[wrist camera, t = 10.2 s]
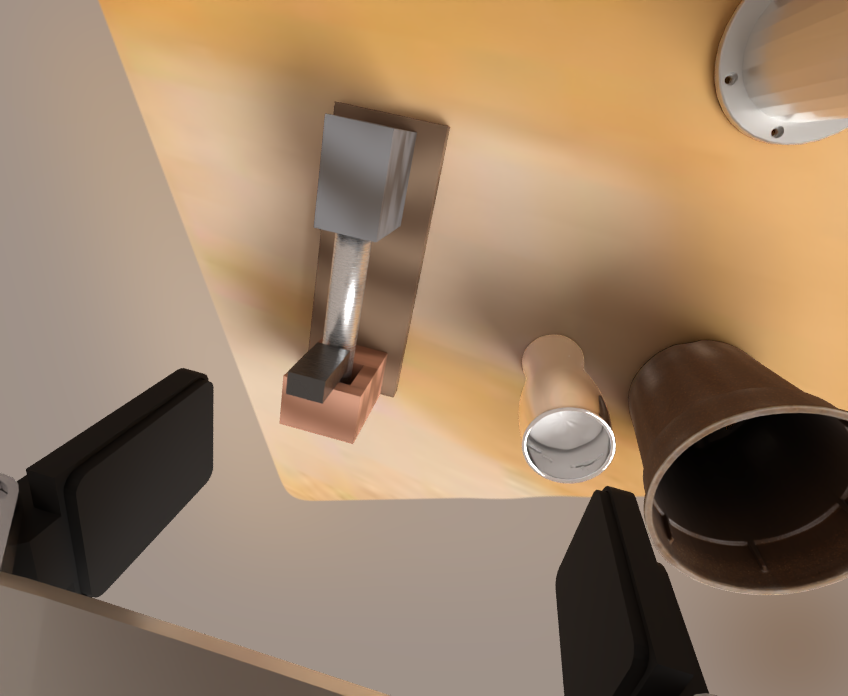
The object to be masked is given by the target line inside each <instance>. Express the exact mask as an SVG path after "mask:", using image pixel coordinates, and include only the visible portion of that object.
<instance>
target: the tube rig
mask: <svg viewBox="0 0 848 696" xmlns="http://www.w3.org/2000/svg"><path fill="white" fill-rule="evenodd" d="M449 130H450V127H449V126H444V125H440V124H435V123H431V122H426V121H422V120H417V119H412V118H408V117H403V116H399V115H394V114H390V113H385V112H381V111H376V110H371V109H367V108H362V107H358V106H353V105H349V104H344V103H340V102H335V106H334V115H330V114H325V120H324V131H323V141H322V151H321V161H320V171H319V181H318V191H317V201H316V211H315V221H314V228H318V229H321V237H320V247H319V256H318V266H317V275H316V284H315V294H314V303H313V313H312V322H311V331H310V341H309V350H310V349H311V348H312V347H313V346H314V345H315V344H316V343H317V342H319V343H322V342H323V334H324V325H325V317H326V308H327V300H328V292H329V283H330V275H331V266H332V258H333V250H334V241H335V233H339V234H343V235H347V236H351V237H355V238H359V239H363V240H367V241H372V244H371V251H370V257H369V264H368V270H367V277H366V283H365V290H364V297H363V303H362V310H361V316H360V323H359V329H358V336H357V342H356V349H355V355H354V362H353V368H352V375H351V382H350V385H348V384H344V383H340V382H339V383H338V384H337V385H336V387H335V388H334V389H333V391H332V392H331V393H330V395H329V396H328V397H327V399H326V400H325V401H324V403H323V404H321V403H317V402H314V401H310V400H306V399H303V398H299V397H295V396H292V395H288V394H286V386H287V375H288V372H287V373H286V374H285V375H284V377H283V389H282V401H281V413H280V424H283V425H287V426H291V427H294V428H298V429H301V430H305V431H308V432H312V433H316V434H319V435H323V436H326V437H330V438H334V439H337V440H341V441H344V442H348V443H351V444H353V443H354V441H355V439H356V437H357V435H358V434H359V432H360V430H361V428H362V426H363V425H364V423H365V421H366V419H367V417H368V415H369V414H370V412H371V410H372V408H373V406H374V404H375V403H376V401H377V399H378V397H379V395H380V394H382V395H386V396H390V397H394V395H395V393H396V391H397V387H398V382H399V377H400V372H401V367H402V362H403V357H404V352H405V347H406V342H407V337H408V333H409V328H410V323H411V318H412V313H413V308H414V303H415V298H416V293H417V288H418V283H419V278H420V273H421V268H422V263H423V258H424V253H425V248H426V244H427V239H428V234H429V229H430V224H431V219H432V214H433V209H434V204H435V199H436V194H437V189H438V184H439V179H440V174H441V169H442V164H443V160H444V155H445V150H446V145H447V140H448V135H449ZM309 350H308V351H309Z"/></svg>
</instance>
